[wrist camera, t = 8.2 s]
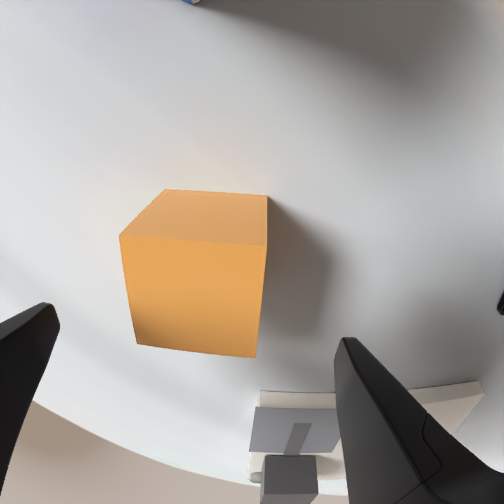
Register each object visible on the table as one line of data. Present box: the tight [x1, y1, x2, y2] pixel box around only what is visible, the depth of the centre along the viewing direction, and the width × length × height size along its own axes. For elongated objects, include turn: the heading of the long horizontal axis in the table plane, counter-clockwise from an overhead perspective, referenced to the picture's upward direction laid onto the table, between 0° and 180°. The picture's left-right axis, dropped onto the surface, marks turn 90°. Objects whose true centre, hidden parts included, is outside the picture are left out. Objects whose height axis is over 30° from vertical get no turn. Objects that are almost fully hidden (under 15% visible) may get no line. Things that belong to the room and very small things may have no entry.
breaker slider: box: [260, 456, 318, 504], centre depth 20 cm, size 4×3×4 cm
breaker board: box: [247, 380, 485, 483], centre depth 21 cm, size 18×13×2 cm
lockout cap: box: [119, 189, 267, 358], centre depth 12 cm, size 4×4×5 cm
